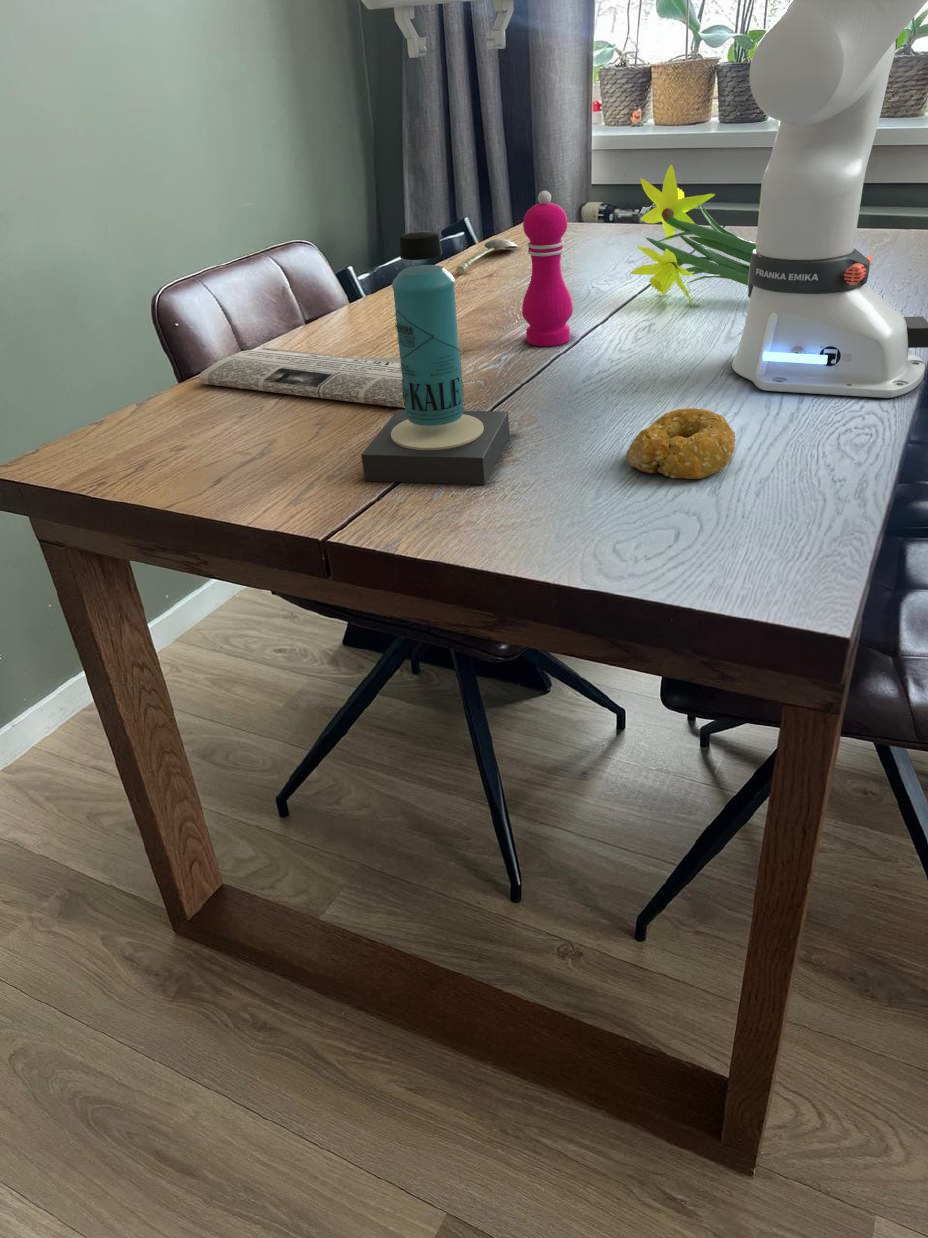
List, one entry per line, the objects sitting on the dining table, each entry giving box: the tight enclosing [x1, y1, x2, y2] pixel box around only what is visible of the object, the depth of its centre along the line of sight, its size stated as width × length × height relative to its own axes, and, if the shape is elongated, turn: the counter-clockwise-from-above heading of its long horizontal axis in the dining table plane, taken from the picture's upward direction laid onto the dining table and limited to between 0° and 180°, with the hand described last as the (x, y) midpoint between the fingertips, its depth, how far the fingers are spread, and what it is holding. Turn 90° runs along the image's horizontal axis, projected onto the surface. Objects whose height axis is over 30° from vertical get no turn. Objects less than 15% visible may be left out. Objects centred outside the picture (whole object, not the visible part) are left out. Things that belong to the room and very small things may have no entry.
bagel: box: [625, 407, 736, 480], centre depth 96 cm, size 10×11×5 cm
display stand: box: [361, 409, 510, 486], centre depth 103 cm, size 13×13×3 cm
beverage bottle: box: [391, 230, 466, 426], centre depth 97 cm, size 6×7×20 cm
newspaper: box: [199, 347, 462, 409], centre depth 127 cm, size 35×12×4 cm, turn 62°
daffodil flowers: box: [629, 163, 756, 307], centre depth 144 cm, size 17×15×35 cm
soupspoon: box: [455, 238, 519, 276], centre depth 183 cm, size 22×3×7 cm
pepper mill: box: [521, 190, 574, 347], centre depth 132 cm, size 7×7×20 cm
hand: (457, 52), depth 103 cm, fingers open, 8 cm apart
